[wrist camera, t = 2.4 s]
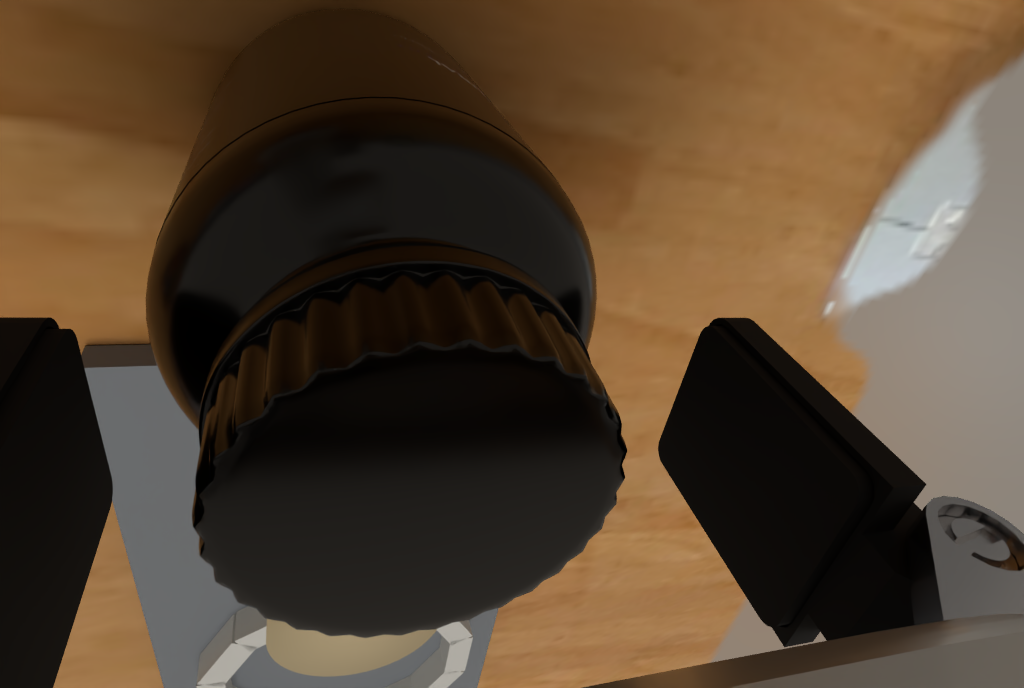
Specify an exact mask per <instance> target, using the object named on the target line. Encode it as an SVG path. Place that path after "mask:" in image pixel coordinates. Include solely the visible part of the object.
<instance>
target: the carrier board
mask: <svg viewBox="0 0 1024 688" xmlns="http://www.w3.org/2000/svg"><path fill="white" fill-rule="evenodd" d="M81 357H82V361H83V365H84V369H85V373H86V377H87V381H88V385H89V389H90V393H91V397H92V401H93V405H94V409H95V413H96V417H97V421H98V424H99V428H100V432H101V436H102V440H103V444H104V448H105V452H106V456H107V460H108V464H109V468H110V472H111V476H112V482H113V496H112V501H113V505H114V508H115V512H116V515H117V519H118V523H119V526H120V530H121V534H122V537H123V541H124V544H125V548H126V552H127V555H128V559H129V563H130V566H131V570H132V573H133V577H134V581H135V584H136V588H137V592H138V595H139V599H140V602H141V606H142V610H143V613H144V617H145V621H146V624H147V628H148V631H149V635H150V639H151V642H152V646H153V649H154V653H155V657H156V660H157V664H158V668H159V671H160V675H161V678H162V682H163V686H164V688H477V686H478V682H479V678H480V675H481V671H482V667H483V664H484V660H485V656H486V652H487V649H488V645H489V641H490V638H491V634H492V630H493V626H494V623H495V619H496V615H497V612H498V608H497V609H493V610H489V611H486V612H483V613H481V614H480V615H478V616H476V617H474V618H472V619H470V620H466V621H459V622H453V623H450V624H448V625H445V626H443V627H440V628H438V629H434V630H418V631H415V632H411V633H408V634H404V635H401V636H400V635H380V636H374V637H369V638H362V637H357V636H353V635H341V636H328V635H325V634H323V633H320V632H318V631H312V630H296V629H295V628H293V627H291V626H290V625H288V624H287V623H286V622H282V621H276V620H270V619H265V618H264V617H263V616H262V615H261V614H260V613H259V611H258V610H257V609H255V608H253V607H250V606H246V605H243V604H240V603H238V602H237V600H236V599H235V597H234V594H233V591H231V590H230V589H228V588H226V587H223V586H222V585H220V584H218V583H216V582H215V578H214V570H213V567H212V566H211V565H210V564H208V563H207V562H205V561H204V560H203V559H202V558H201V557H200V555H199V535H198V534H197V532H196V531H195V529H194V527H193V523H192V508H193V501H194V495H195V489H196V486H195V478H196V470H197V464H198V459H199V453H200V444H199V430H198V429H197V428H196V427H195V426H194V425H193V424H192V423H191V422H190V420H189V419H188V418H187V417H186V415H185V414H184V413H183V411H182V410H181V409H180V407H179V406H178V405H177V403H176V401H175V400H174V398H173V396H172V395H171V393H170V391H169V390H168V388H167V386H166V385H165V382H164V380H163V378H162V376H161V373H160V371H159V369H158V366H157V364H156V362H155V358H154V355H153V351H152V348H151V345H101V346H85V348H84V350H83V352H82V355H81Z"/></svg>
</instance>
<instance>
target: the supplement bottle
mask: <svg viewBox="0 0 1024 688" xmlns="http://www.w3.org/2000/svg"><path fill="white" fill-rule="evenodd" d="M596 299H597V292H596V273H595V265H594V259H593V255H592V251H591V247H590V243H589V239H588V237H587V234H586V231H585V229H584V226H583V224H582V221H581V219H580V217H579V216H578V214H577V212H576V210H575V208H574V206H573V204H572V203H571V201H570V199H569V198H568V196H567V195H566V193H565V192H564V190H563V189H562V188H561V186H560V185H559V183H558V182H557V180H556V179H555V177H554V176H553V175H552V173H551V172H550V171H549V170H548V169H547V167H546V166H545V165H544V164H543V163H542V162H541V160H540V159H539V158H538V157H537V156H536V154H535V153H534V152H533V151H532V150H531V149H530V147H529V146H528V145H527V144H526V143H525V142H524V140H523V139H522V138H521V137H520V136H519V134H518V133H517V132H516V131H515V130H514V129H513V127H512V126H511V125H510V124H509V123H508V121H507V120H506V119H505V118H504V117H503V116H502V114H501V113H500V112H499V111H498V110H497V109H496V107H495V106H494V105H493V104H492V103H491V101H490V100H489V99H488V98H487V97H486V96H485V94H484V93H483V92H482V91H481V90H480V88H479V87H478V86H477V85H476V84H475V83H474V81H473V80H472V79H471V78H470V77H469V76H468V74H467V73H466V72H465V71H464V70H463V69H462V67H461V66H460V65H459V64H458V63H457V62H456V61H455V60H454V59H453V58H452V57H451V56H450V55H449V54H448V53H447V52H446V51H445V50H444V49H443V48H442V47H441V46H439V45H438V44H437V43H436V42H434V41H433V40H432V39H431V38H429V37H428V36H426V35H425V34H423V33H421V32H420V31H418V30H417V29H415V28H413V27H411V26H409V25H407V24H405V23H403V22H401V21H399V20H396V19H393V18H391V17H388V16H385V15H381V14H378V13H374V12H369V11H363V10H356V9H326V10H320V11H314V12H309V13H305V14H302V15H298V16H295V17H293V18H290V19H288V20H285V21H283V22H281V23H279V24H277V25H275V26H274V27H272V28H270V29H268V30H267V31H265V32H264V33H263V34H261V35H260V36H258V37H257V38H256V39H255V40H254V41H252V42H251V43H250V44H249V45H248V46H247V47H246V48H245V49H244V50H243V51H242V52H241V53H240V54H239V56H238V57H237V58H236V59H235V60H234V62H233V63H232V64H231V66H230V67H229V69H228V70H227V72H226V73H225V75H224V77H223V79H222V81H221V83H220V85H219V87H218V89H217V91H216V93H215V95H214V97H213V100H212V102H211V105H210V107H209V110H208V112H207V115H206V117H205V120H204V122H203V125H202V127H201V130H200V132H199V135H198V137H197V140H196V142H195V145H194V147H193V150H192V152H191V155H190V157H189V160H188V162H187V165H186V167H185V170H184V172H183V175H182V177H181V180H180V182H179V185H178V187H177V190H176V193H175V195H174V198H173V200H172V203H171V205H170V208H169V210H168V213H167V215H166V218H165V221H164V223H163V226H162V228H161V231H160V233H159V236H158V239H157V242H156V246H155V250H154V254H153V258H152V262H151V266H150V271H149V275H148V282H147V292H146V320H147V327H148V333H149V339H150V345H151V348H152V351H153V355H154V358H155V362H156V364H157V366H158V369H159V371H160V373H161V376H162V378H163V380H164V382H165V385H166V386H167V388H168V390H169V391H170V393H171V395H172V396H173V398H174V400H175V401H176V403H177V405H178V406H179V407H180V409H181V410H182V411H183V413H184V414H185V415H186V417H187V418H188V419H189V420H190V422H191V423H192V424H193V425H194V426H195V427H196V428H197V429H198V430H199V444H200V453H199V459H198V464H197V470H196V478H195V486H196V489H195V495H194V501H193V508H192V523H193V527H194V529H195V531H196V532H197V534H198V535H199V555H200V557H201V558H202V559H203V560H204V561H205V562H207V563H208V564H210V565H211V566H212V567H213V570H214V578H215V582H216V583H218V584H220V585H222V586H223V587H226V588H228V589H230V590H231V591H233V594H234V597H235V599H236V600H237V602H238V603H240V604H243V605H246V606H250V607H253V608H255V609H257V610H258V611H259V613H260V614H261V615H262V616H263V617H264V618H265V619H270V620H276V621H282V622H286V623H287V624H288V625H290V626H291V627H293V628H295V629H296V630H312V631H318V632H320V633H323V634H325V635H328V636H341V635H353V636H357V637H362V638H369V637H374V636H380V635H400V636H401V635H404V634H408V633H411V632H415V631H418V630H434V629H438V628H440V627H443V626H445V625H448V624H450V623H453V622H459V621H466V620H470V619H472V618H474V617H476V616H478V615H480V614H481V613H483V612H486V611H489V610H493V609H497V608H500V607H503V606H504V605H505V604H507V603H508V602H510V601H511V600H513V599H514V598H516V597H518V596H521V595H524V594H526V593H529V592H531V591H533V590H534V589H535V588H536V587H537V586H538V585H539V584H540V583H541V582H542V581H544V580H546V579H548V578H550V577H552V576H554V575H555V574H557V573H559V572H560V571H561V569H562V568H563V567H564V566H565V564H566V563H567V562H568V561H569V560H571V559H572V558H574V557H575V556H577V555H578V554H580V553H581V552H583V550H584V548H585V546H586V544H587V542H588V540H589V539H590V538H592V537H593V536H594V535H595V534H596V533H597V532H599V531H600V530H601V529H602V526H603V523H604V519H605V516H606V515H607V514H608V513H609V512H610V511H611V510H612V508H613V507H614V506H615V505H616V500H617V496H616V492H617V490H618V489H619V487H620V485H621V484H622V482H623V480H624V479H625V475H624V471H623V468H622V463H623V460H624V459H625V456H626V453H627V448H626V445H625V442H624V439H623V437H622V435H621V427H622V423H621V419H620V416H619V413H618V411H617V409H616V408H615V406H614V404H613V402H612V401H611V399H610V397H609V396H608V394H607V392H606V389H605V387H604V385H603V383H602V381H601V380H600V378H599V376H598V374H597V373H596V371H595V369H594V368H593V366H592V364H591V361H590V357H589V354H588V351H587V349H588V346H589V342H590V339H591V335H592V330H593V325H594V320H595V311H596Z"/></svg>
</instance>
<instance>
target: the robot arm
mask: <svg viewBox="0 0 1024 688" xmlns="http://www.w3.org/2000/svg"><path fill="white" fill-rule="evenodd" d="M658 451H659V457H660V460H661V462H662V464H663V466H664V467H665V469H666V470H667V472H668V473H669V475H670V477H671V478H672V480H673V481H674V483H675V485H676V486H677V488H678V489H679V491H680V492H681V494H682V496H683V497H684V499H685V500H686V502H687V504H688V505H689V507H690V508H691V510H692V512H693V513H694V515H695V516H696V518H697V519H698V521H699V523H700V524H701V526H702V527H703V529H704V531H705V532H706V534H707V535H708V537H709V538H710V540H711V542H712V543H713V545H714V546H715V548H716V550H717V551H718V553H719V554H720V556H721V557H722V559H723V561H724V562H725V564H726V565H727V567H728V569H729V570H730V572H731V573H732V575H733V576H734V578H735V580H736V581H737V583H738V584H739V586H740V588H741V589H742V591H743V592H744V594H745V595H746V597H747V599H748V600H749V602H750V603H751V605H752V607H753V608H754V610H755V611H756V613H757V614H758V616H759V617H760V619H761V620H762V621H763V622H764V623H765V624H766V625H767V626H770V627H772V628H773V630H774V631H775V633H776V634H777V636H778V638H779V639H780V641H781V642H782V644H783V646H784V647H787V646H793V645H798V644H803V643H808V642H813V641H814V639H815V638H816V637H817V635H818V634H819V632H821V633H822V634H823V636H824V637H825V638H826V640H827V641H824V642H819V643H814V644H808V645H803V646H797V647H792V648H787V649H782V650H777V651H771V652H766V653H760V654H755V655H750V656H744V657H739V658H734V659H729V660H723V661H718V662H712V663H707V664H702V665H697V666H692V667H687V668H681V669H676V670H671V671H666V672H661V673H656V674H650V675H645V676H640V677H635V678H630V679H625V680H619V681H614V682H609V683H604V684H599V685H594V686H589V687H583V688H1024V534H1023V533H1022V532H1021V531H1020V530H1018V529H1017V528H1016V527H1015V526H1013V525H1012V524H1011V523H1010V522H1009V521H1007V520H1005V519H1004V518H1003V517H1001V516H999V515H997V514H996V513H995V512H993V511H991V510H989V509H987V508H985V507H983V506H980V505H978V504H976V503H974V502H971V501H968V500H964V499H961V498H958V497H947V496H942V497H937V498H933V499H932V500H931V501H930V502H929V503H928V504H927V505H926V506H925V507H924V509H923V510H922V511H921V509H919V507H917V506H916V505H915V504H914V503H913V502H914V501H915V499H916V498H917V496H918V495H919V494H920V492H921V491H922V490H923V488H924V487H925V485H926V484H925V482H923V481H922V480H921V479H920V478H919V477H918V476H917V475H916V474H915V473H914V472H913V471H912V470H911V469H910V468H909V467H908V466H906V465H905V464H904V463H903V462H902V461H901V460H900V459H899V458H898V457H897V456H896V455H895V454H894V453H893V452H892V451H890V449H888V448H887V447H886V446H885V445H884V444H883V443H882V442H881V441H880V440H879V439H878V438H877V437H876V436H875V435H873V433H872V432H870V431H869V430H868V429H867V428H866V427H865V426H864V425H863V424H862V423H861V422H860V421H859V420H858V419H857V418H856V417H855V416H854V415H852V414H851V413H850V412H849V411H848V410H847V409H846V408H845V407H844V406H843V405H842V404H841V403H840V402H839V401H838V400H837V399H836V398H834V397H833V396H832V395H831V394H830V393H829V392H828V391H827V390H826V389H825V388H824V387H823V386H822V385H821V384H820V383H819V382H818V381H816V380H815V379H814V378H813V377H812V376H811V375H810V374H809V373H808V372H807V371H806V370H805V369H804V368H803V367H802V366H801V365H800V364H798V363H797V362H796V361H795V360H794V359H793V358H792V357H791V356H790V355H789V354H788V353H787V352H786V351H785V350H784V349H783V348H782V347H780V346H779V345H778V344H777V343H776V342H775V341H774V340H773V339H772V338H771V337H770V336H769V335H768V334H767V333H766V332H765V331H764V330H762V329H761V328H760V327H759V326H758V325H757V324H756V323H755V322H754V321H752V320H751V319H749V318H717V319H714V320H713V321H712V322H711V323H710V325H709V326H708V327H705V328H704V329H703V330H702V332H701V334H700V336H699V339H698V341H697V344H696V346H695V349H694V352H693V354H692V357H691V360H690V362H689V365H688V367H687V370H686V373H685V375H684V378H683V380H682V383H681V386H680V388H679V391H678V394H677V396H676V399H675V401H674V404H673V407H672V409H671V412H670V414H669V417H668V420H667V422H666V425H665V428H664V430H663V433H662V435H661V438H660V441H659V446H658ZM112 496H113V482H112V476H111V472H110V468H109V464H108V460H107V456H106V452H105V448H104V444H103V440H102V436H101V432H100V428H99V424H98V421H97V417H96V413H95V409H94V405H93V401H92V397H91V393H90V389H89V385H88V381H87V377H86V373H85V369H84V365H83V361H82V357H81V353H80V349H79V345H78V341H77V338H76V335H75V333H74V332H73V330H71V329H59V326H58V324H57V323H56V321H55V320H54V319H52V318H0V688H53V686H54V682H55V679H56V676H57V673H58V670H59V667H60V664H61V661H62V657H63V654H64V651H65V648H66V645H67V642H68V639H69V635H70V632H71V629H72V626H73V623H74V620H75V617H76V614H77V610H78V607H79V604H80V601H81V598H82V595H83V592H84V588H85V585H86V582H87V579H88V576H89V573H90V570H91V567H92V563H93V560H94V557H95V554H96V551H97V548H98V545H99V541H100V538H101V535H102V532H103V529H104V526H105V523H106V520H107V516H108V513H109V510H110V507H111V503H112Z"/></svg>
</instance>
